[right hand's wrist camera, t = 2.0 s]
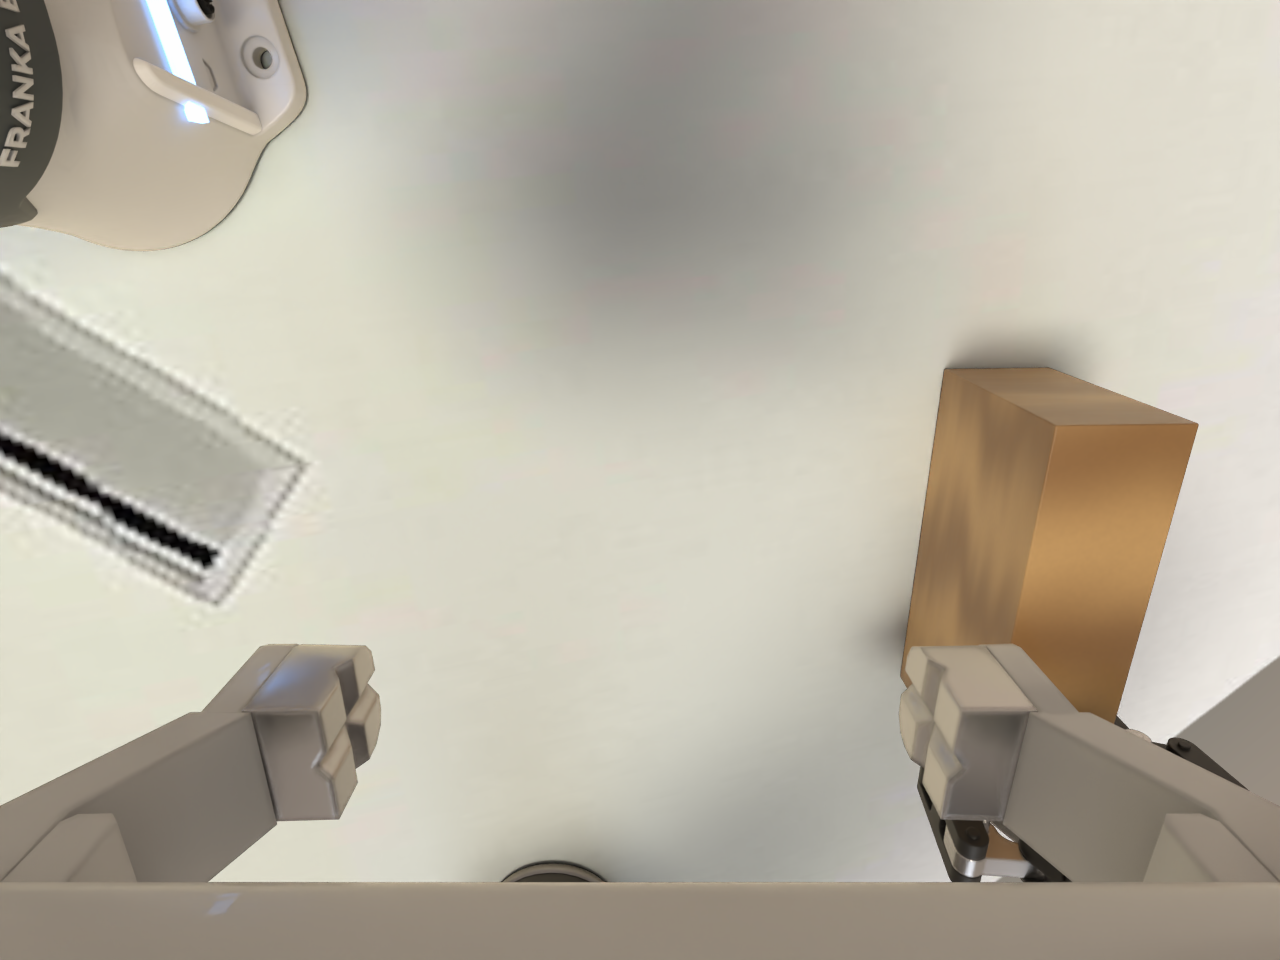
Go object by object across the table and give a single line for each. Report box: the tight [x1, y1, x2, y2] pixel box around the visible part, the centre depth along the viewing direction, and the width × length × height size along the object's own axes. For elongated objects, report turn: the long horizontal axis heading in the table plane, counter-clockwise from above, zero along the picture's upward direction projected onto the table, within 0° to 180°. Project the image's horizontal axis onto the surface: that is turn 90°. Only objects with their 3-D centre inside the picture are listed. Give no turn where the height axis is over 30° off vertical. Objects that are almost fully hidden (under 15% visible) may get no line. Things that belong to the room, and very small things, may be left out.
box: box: [900, 368, 1198, 724], centre depth 36 cm, size 20×6×11 cm, turn 1°
